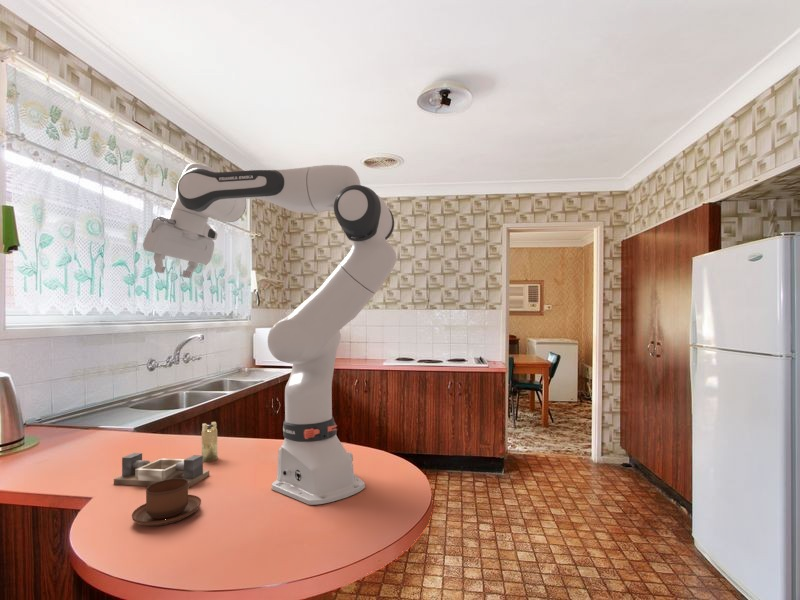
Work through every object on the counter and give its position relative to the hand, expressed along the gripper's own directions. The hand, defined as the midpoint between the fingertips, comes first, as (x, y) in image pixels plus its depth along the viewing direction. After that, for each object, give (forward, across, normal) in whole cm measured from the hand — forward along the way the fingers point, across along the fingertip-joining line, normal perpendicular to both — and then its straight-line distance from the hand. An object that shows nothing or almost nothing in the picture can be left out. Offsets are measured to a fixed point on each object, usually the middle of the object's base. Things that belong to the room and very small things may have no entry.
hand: (173, 275), depth 111 cm
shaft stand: (+49, -3, -16) cm, 51 cm away
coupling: (+48, +12, -17) cm, 52 cm away
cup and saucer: (+45, -19, -32) cm, 59 cm away
